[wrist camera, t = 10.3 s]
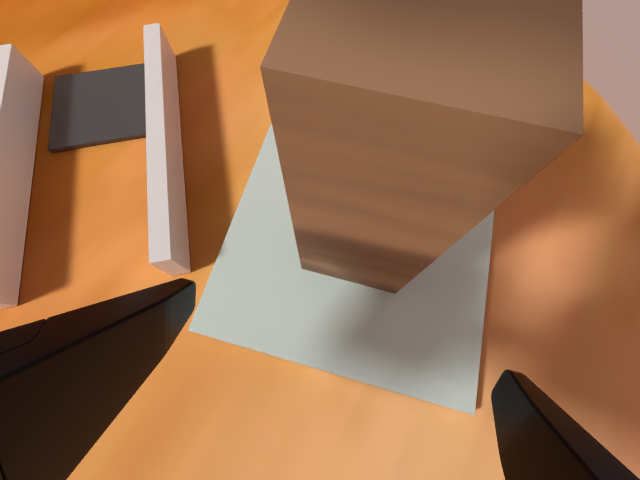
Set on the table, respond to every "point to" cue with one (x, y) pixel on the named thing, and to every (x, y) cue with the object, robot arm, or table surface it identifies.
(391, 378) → the plate
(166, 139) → the channel
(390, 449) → the table surface
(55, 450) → the robot arm
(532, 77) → the post
